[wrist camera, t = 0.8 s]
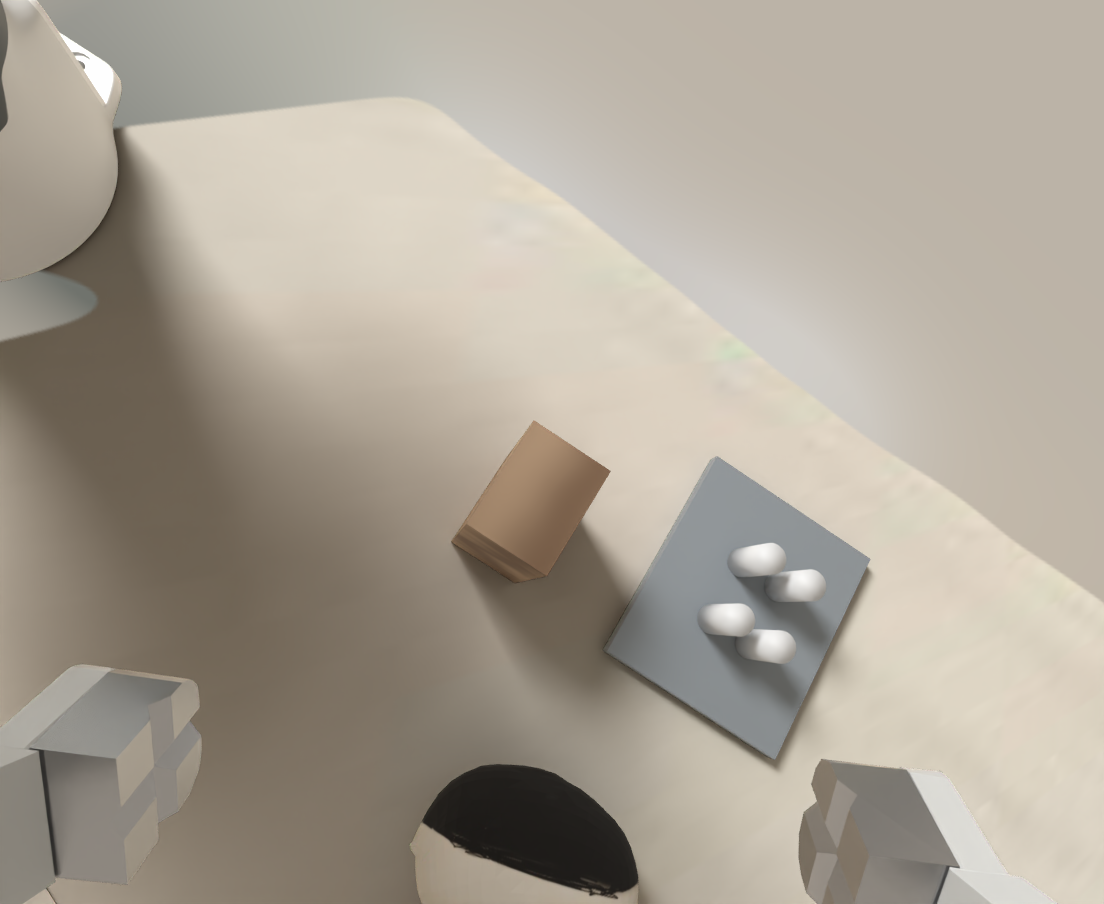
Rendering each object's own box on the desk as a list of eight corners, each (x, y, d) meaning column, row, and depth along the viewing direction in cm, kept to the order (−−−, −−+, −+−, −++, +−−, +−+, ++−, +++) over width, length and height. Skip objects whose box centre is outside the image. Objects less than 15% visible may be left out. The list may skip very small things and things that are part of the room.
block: (451, 542, 45) (466, 523, 36) (505, 459, 47) (534, 420, 37) (514, 583, 45) (547, 576, 36) (566, 499, 47) (610, 471, 37)
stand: (602, 650, 46) (627, 655, 41) (710, 459, 49) (745, 443, 45) (767, 756, 46) (810, 773, 41) (861, 560, 50) (910, 554, 45)
